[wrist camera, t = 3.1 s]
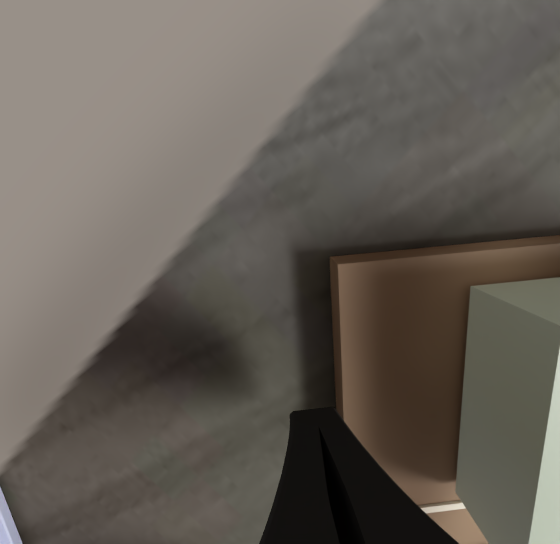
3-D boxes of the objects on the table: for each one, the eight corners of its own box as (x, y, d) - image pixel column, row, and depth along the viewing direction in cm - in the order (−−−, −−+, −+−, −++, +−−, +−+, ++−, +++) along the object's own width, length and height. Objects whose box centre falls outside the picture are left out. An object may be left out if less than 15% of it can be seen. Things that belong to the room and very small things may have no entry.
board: (346, 646, 16) (354, 687, 14) (329, 256, 11) (339, 265, 9) (649, 603, 16) (684, 639, 15) (770, 215, 11) (838, 217, 10)
